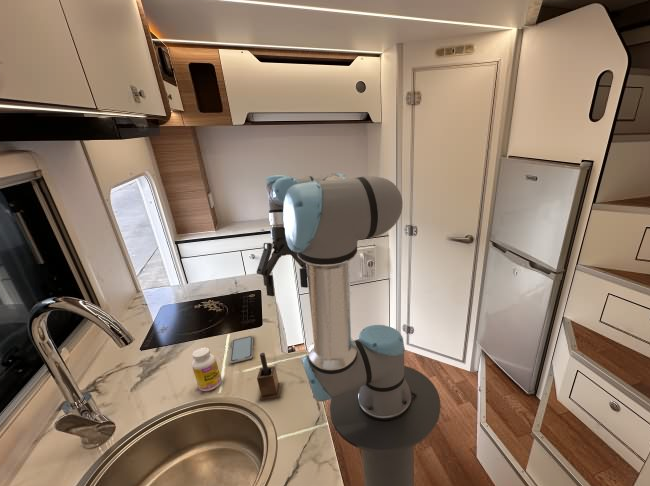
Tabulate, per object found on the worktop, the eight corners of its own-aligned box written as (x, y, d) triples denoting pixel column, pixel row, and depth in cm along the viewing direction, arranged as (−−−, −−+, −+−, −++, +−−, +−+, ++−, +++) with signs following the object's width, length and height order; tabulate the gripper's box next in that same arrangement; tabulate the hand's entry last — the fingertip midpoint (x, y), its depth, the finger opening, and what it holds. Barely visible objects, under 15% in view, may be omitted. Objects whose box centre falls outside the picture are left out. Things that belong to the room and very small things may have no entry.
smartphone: (252, 335, 126) (252, 356, 113) (253, 337, 126) (252, 358, 113) (232, 339, 124) (229, 362, 111) (233, 341, 124) (230, 364, 111)
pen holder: (281, 384, 101) (277, 364, 98) (279, 397, 96) (274, 376, 93) (263, 387, 100) (258, 367, 97) (259, 400, 95) (254, 379, 92)
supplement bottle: (206, 395, 98) (195, 361, 93) (195, 387, 101) (183, 354, 96) (226, 381, 103) (217, 349, 98) (214, 374, 107) (204, 343, 102)
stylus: (273, 387, 98) (265, 352, 93) (272, 391, 97) (264, 355, 92) (268, 388, 98) (260, 352, 93) (267, 392, 97) (259, 355, 92)
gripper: (304, 225, 113) (309, 283, 116) (239, 228, 93) (247, 298, 96) (319, 224, 109) (323, 285, 112) (254, 227, 88) (262, 301, 91)
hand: (288, 291), depth 104 cm, fingers open, 13 cm apart
